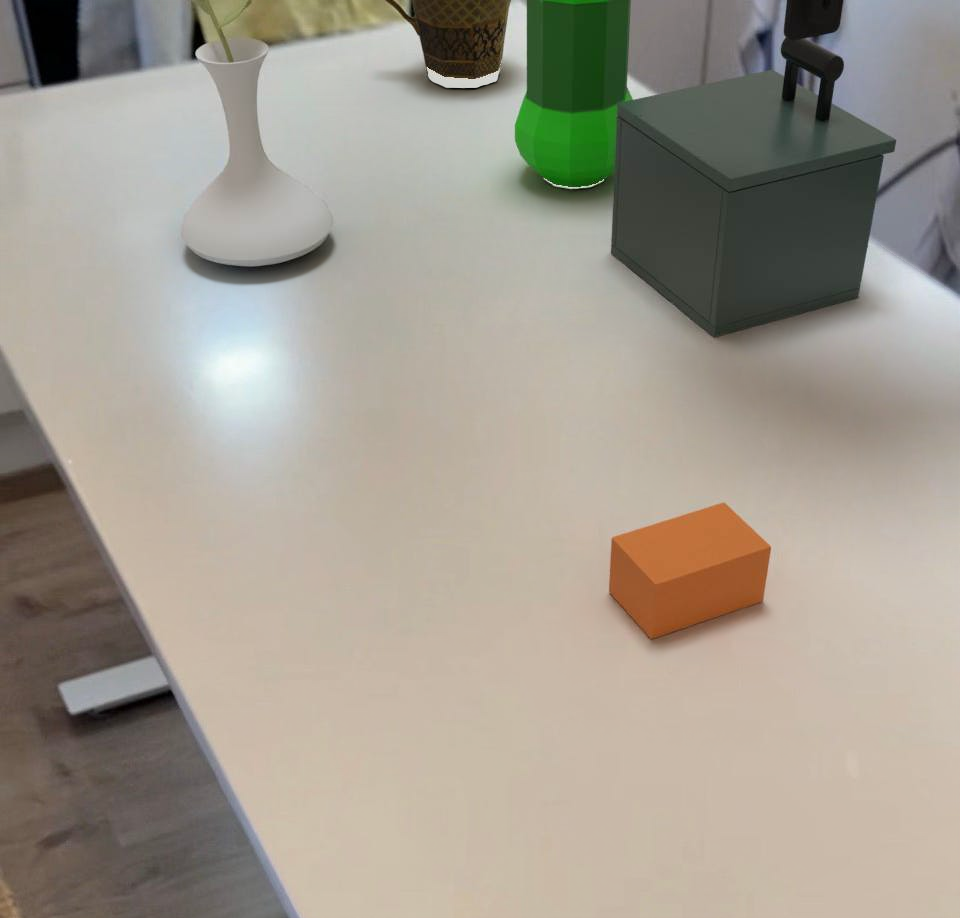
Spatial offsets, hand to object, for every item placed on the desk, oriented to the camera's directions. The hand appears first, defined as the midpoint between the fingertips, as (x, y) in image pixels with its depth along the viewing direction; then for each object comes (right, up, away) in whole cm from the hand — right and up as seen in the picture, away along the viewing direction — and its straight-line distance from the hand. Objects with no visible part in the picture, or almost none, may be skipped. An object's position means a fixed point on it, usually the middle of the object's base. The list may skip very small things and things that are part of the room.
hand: (763, 8), depth 78 cm
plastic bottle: (-8, +7, +35) cm, 37 cm away
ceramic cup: (-19, +23, +51) cm, 59 cm away
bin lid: (+2, +1, +16) cm, 16 cm away
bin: (+2, -6, +23) cm, 24 cm away
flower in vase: (-33, -2, +28) cm, 43 cm away
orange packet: (-5, -33, -2) cm, 34 cm away
